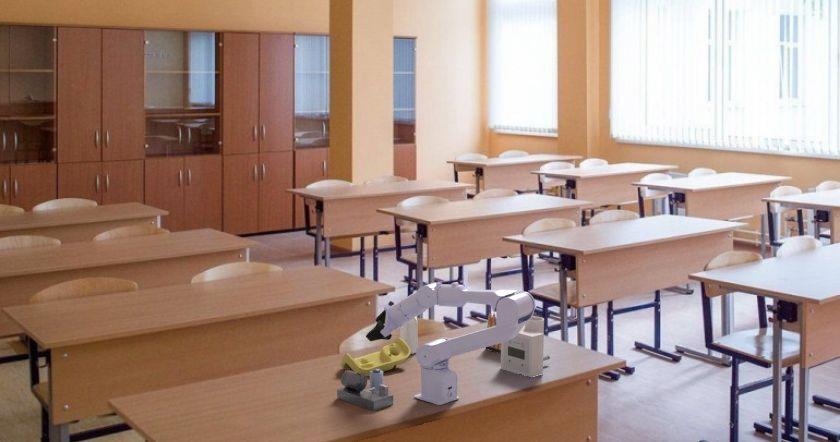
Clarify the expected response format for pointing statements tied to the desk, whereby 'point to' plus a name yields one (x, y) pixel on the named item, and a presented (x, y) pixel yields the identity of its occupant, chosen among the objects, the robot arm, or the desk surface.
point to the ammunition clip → (490, 324)
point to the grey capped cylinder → (376, 378)
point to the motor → (363, 392)
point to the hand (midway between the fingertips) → (373, 330)
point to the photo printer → (410, 334)
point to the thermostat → (525, 350)
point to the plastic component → (378, 358)
